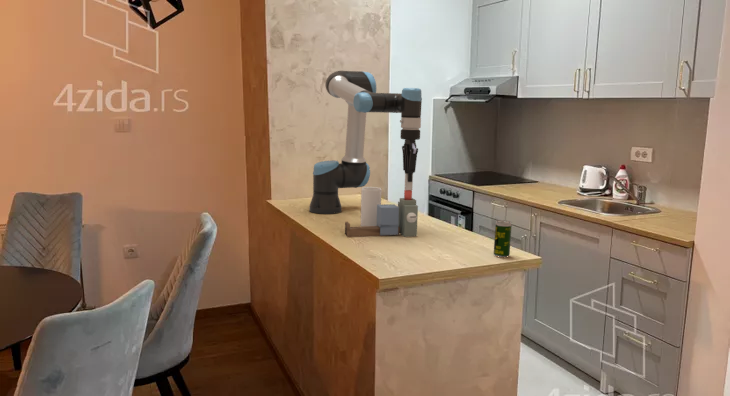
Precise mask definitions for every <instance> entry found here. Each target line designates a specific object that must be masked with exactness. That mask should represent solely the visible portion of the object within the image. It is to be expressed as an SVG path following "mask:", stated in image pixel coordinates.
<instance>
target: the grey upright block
mask: <svg viewBox="0 0 730 396" xmlns="http://www.w3.org/2000/svg"><path fill="white" fill-rule="evenodd" d="M397 206H398V207H399V218H398V226H399V227H400V236H403V237H404V238H406V237H407V238H408V237H409V238H410V237H411V238H412V237H418V236H417V235H418V216H419V214H418V213H419V212H418V210H419V206H418V205H417V199H415V198H413V197H412V200H404V197H402V198H401V197H400V198H399V201H397Z"/></svg>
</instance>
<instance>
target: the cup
mask: <svg viewBox="0 0 730 396" xmlns="http://www.w3.org/2000/svg"><path fill="white" fill-rule="evenodd" d="M360 197H361V198H360V226H377V205H382V188H381V187H377V186H363V187H361V196H360Z"/></svg>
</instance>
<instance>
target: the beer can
mask: <svg viewBox="0 0 730 396" xmlns="http://www.w3.org/2000/svg"><path fill="white" fill-rule="evenodd" d="M494 225H495V226H494V240H493V242H494V243H493V255H495V256H499V257H507V256H509V257H510V253H511V241H512V240H511V239H512V236H511V235H512V222H511V221H510V220H504V219H503V220H501V219H500V220H496V221H495V224H494ZM495 256H494V257H495ZM499 257H498V258H499ZM507 258H508V257H507Z"/></svg>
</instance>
